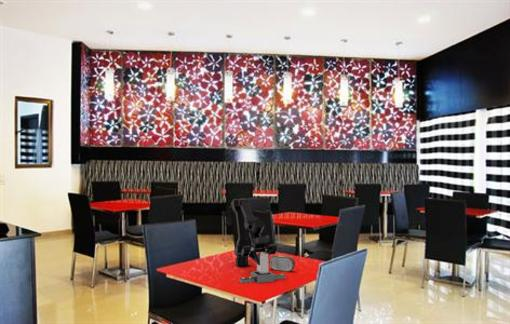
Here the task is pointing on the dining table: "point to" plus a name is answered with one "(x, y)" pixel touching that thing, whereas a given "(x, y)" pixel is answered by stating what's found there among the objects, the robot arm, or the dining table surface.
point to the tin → (282, 263)
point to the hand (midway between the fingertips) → (263, 264)
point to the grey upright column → (262, 263)
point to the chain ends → (262, 277)
